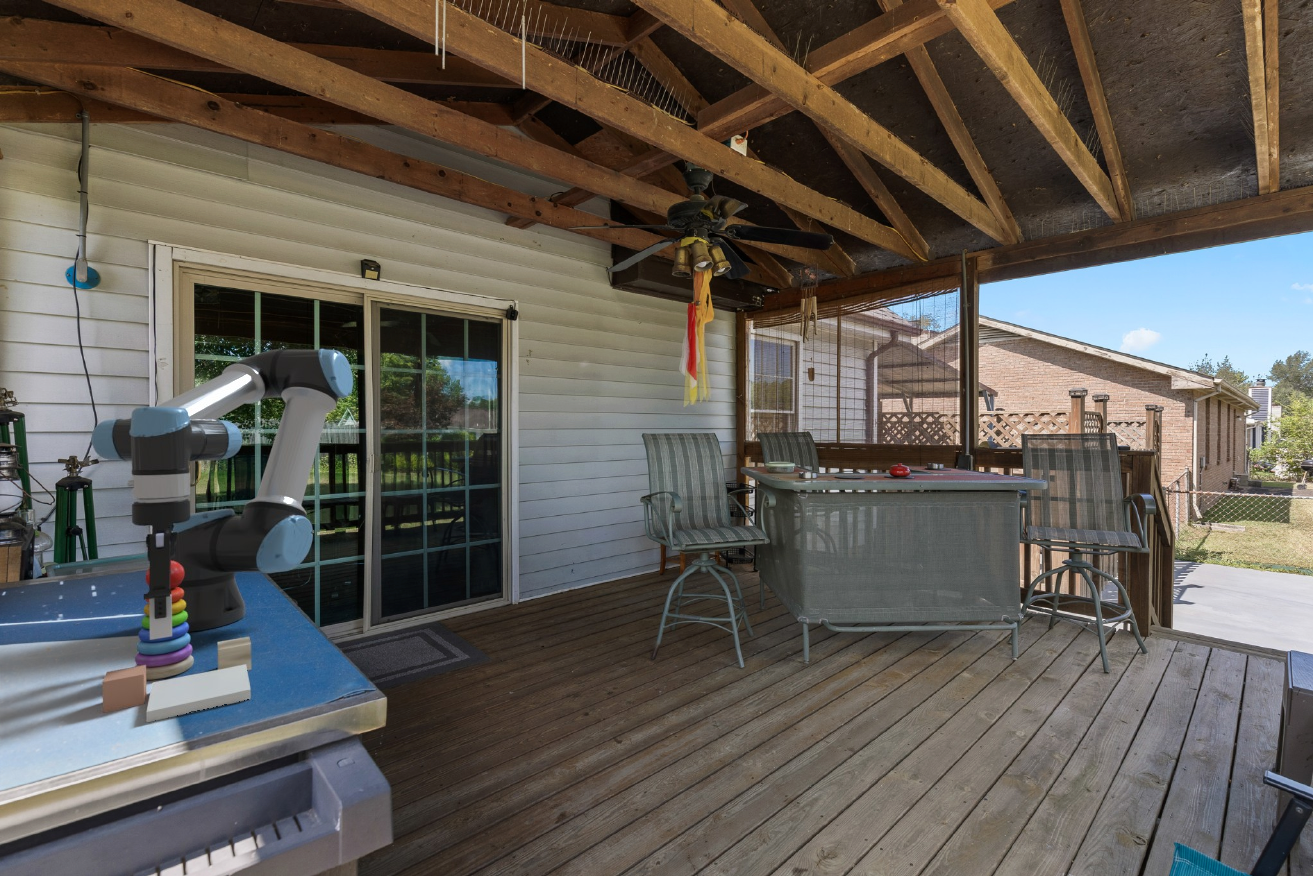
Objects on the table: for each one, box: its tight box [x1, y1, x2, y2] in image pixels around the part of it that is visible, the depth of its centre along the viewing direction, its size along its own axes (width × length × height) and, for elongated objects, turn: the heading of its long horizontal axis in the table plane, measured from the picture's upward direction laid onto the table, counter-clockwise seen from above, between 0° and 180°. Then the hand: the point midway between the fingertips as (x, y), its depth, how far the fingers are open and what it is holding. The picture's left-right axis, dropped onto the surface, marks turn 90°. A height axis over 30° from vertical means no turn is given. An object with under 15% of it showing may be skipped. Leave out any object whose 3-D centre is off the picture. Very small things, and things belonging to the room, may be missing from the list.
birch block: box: [217, 636, 252, 671], centre depth 102 cm, size 4×4×4 cm
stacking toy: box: [134, 561, 195, 681], centre depth 101 cm, size 8×8×19 cm
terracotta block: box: [102, 665, 147, 713], centre depth 90 cm, size 4×4×4 cm
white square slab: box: [146, 664, 252, 723], centre depth 92 cm, size 12×12×2 cm
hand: (163, 626), depth 101 cm, fingers open, 13 cm apart
